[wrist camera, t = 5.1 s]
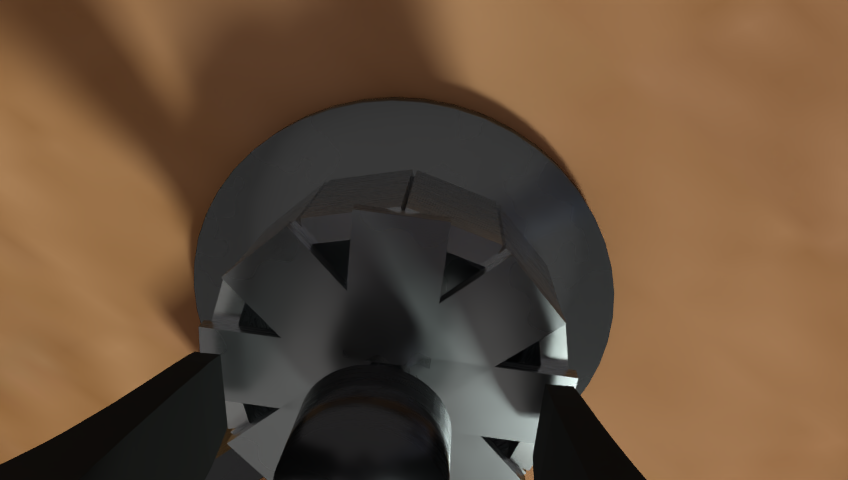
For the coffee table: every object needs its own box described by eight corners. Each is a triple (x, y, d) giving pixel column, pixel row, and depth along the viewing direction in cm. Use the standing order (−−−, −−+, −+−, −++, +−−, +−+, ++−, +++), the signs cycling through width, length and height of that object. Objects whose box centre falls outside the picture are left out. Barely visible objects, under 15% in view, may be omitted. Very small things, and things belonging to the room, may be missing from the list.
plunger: (406, 246, 15) (369, 397, 9) (478, 330, 16) (484, 516, 10) (318, 308, 16) (236, 480, 10) (391, 384, 17) (352, 582, 11)
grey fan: (436, -7, 13) (425, -11, 10) (687, 341, 16) (750, 438, 13) (105, 279, 17) (5, 356, 13) (362, 518, 20) (338, 632, 17)
